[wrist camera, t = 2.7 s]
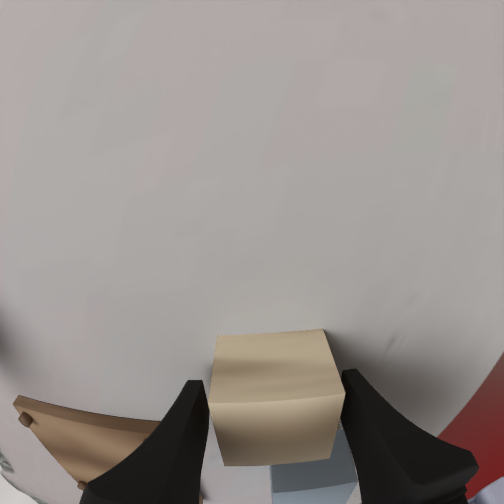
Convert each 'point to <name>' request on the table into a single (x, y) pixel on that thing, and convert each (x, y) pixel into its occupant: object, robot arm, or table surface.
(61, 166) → the table surface
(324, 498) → the slate block
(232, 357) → the birch block
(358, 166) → the table surface
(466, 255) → the table surface
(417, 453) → the robot arm
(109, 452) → the base plate
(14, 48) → the table surface
